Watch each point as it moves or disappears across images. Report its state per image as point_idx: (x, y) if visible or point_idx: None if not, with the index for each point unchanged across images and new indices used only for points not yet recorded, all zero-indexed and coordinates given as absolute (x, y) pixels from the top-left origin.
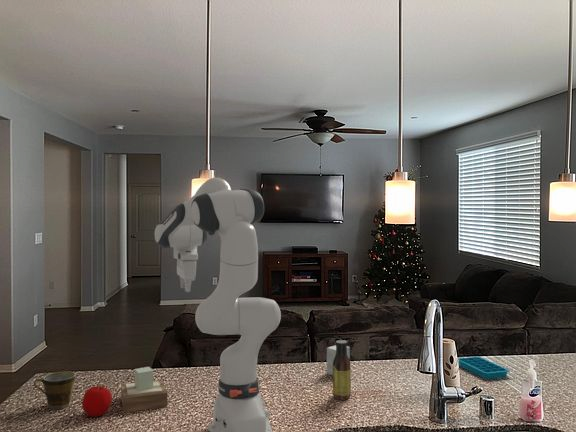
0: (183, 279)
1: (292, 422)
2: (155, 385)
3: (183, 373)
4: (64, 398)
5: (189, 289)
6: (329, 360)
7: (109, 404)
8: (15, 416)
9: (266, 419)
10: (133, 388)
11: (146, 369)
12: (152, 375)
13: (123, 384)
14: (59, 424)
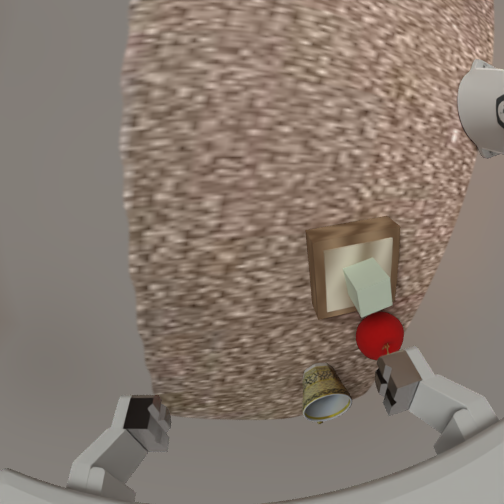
0: (111, 469)
1: (482, 30)
2: (358, 254)
3: (172, 184)
4: (336, 376)
5: (423, 364)
6: None
7: (391, 315)
8: None
9: (484, 64)
10: None
11: (375, 293)
12: (384, 273)
13: (321, 315)
14: None
